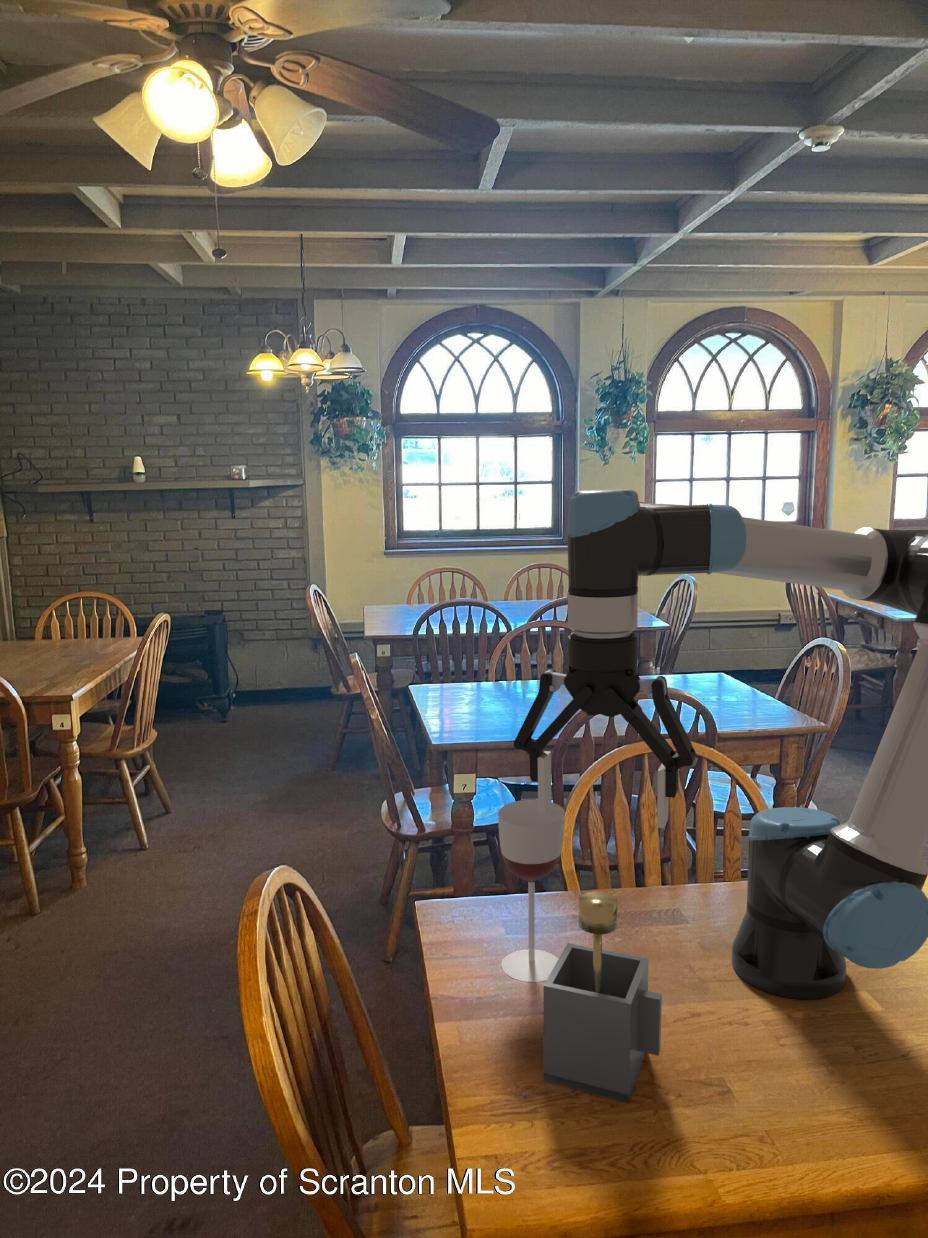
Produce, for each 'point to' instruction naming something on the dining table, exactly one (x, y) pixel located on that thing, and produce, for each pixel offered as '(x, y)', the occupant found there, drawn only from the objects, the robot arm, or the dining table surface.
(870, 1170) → the dining table surface
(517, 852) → the wineglass
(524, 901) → the dining table surface
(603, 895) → the plunger
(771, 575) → the robot arm
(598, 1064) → the press pot
